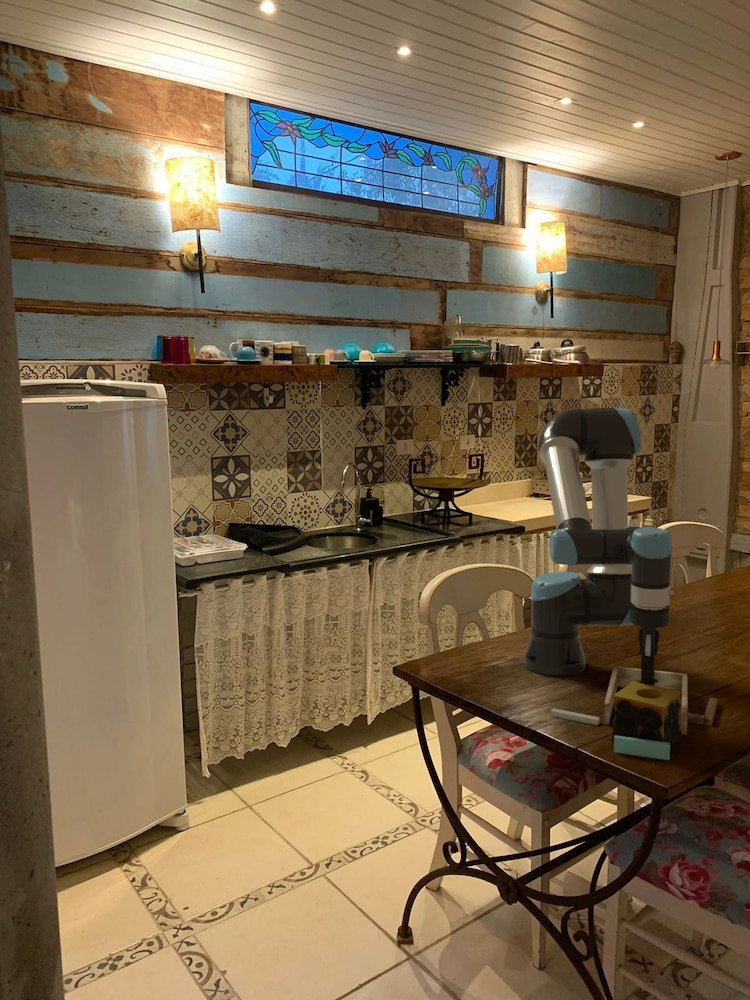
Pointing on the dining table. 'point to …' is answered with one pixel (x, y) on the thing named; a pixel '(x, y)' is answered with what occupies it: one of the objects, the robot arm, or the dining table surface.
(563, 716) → the grey stick
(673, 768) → the dining table surface
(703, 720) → the crook tool
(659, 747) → the bar
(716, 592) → the dining table surface
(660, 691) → the candle
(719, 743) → the dining table surface
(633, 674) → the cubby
